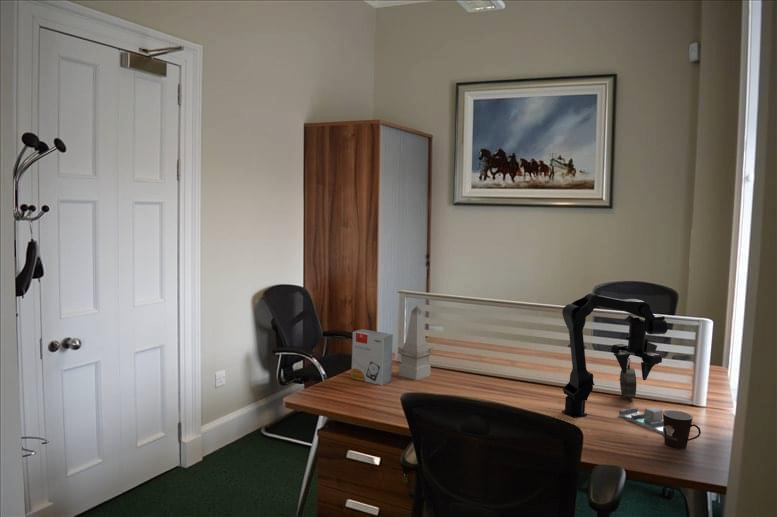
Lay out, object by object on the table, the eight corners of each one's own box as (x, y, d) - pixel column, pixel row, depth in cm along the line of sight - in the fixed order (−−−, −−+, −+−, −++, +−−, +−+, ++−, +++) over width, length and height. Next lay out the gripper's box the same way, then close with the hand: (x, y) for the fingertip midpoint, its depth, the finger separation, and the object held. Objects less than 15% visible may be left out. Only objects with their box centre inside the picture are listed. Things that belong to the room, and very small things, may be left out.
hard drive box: (350, 379, 267) (351, 331, 265) (360, 374, 274) (361, 328, 272) (382, 385, 259) (383, 336, 257) (392, 381, 266) (393, 333, 263)
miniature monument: (431, 375, 275) (434, 306, 272) (416, 380, 268) (418, 309, 265) (412, 370, 282) (415, 302, 279) (397, 375, 274) (399, 305, 271)
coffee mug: (655, 440, 208) (657, 410, 207) (681, 440, 209) (683, 410, 208) (674, 454, 197) (676, 423, 196) (701, 454, 198) (704, 423, 197)
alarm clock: (636, 403, 245) (638, 361, 244) (621, 402, 246) (623, 360, 245) (631, 394, 256) (634, 354, 254) (617, 393, 257) (619, 353, 255)
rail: (665, 435, 213) (665, 429, 212) (618, 416, 230) (619, 410, 230) (682, 432, 216) (682, 425, 216) (635, 413, 234) (635, 407, 234)
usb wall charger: (661, 421, 223) (662, 410, 223) (648, 424, 220) (649, 413, 219) (652, 417, 227) (652, 406, 226) (638, 420, 223) (639, 409, 223)
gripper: (674, 338, 228) (671, 381, 230) (633, 327, 245) (630, 368, 247) (652, 340, 223) (648, 384, 225) (611, 329, 240) (608, 371, 242)
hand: (634, 376), depth 235 cm, fingers open, 9 cm apart
